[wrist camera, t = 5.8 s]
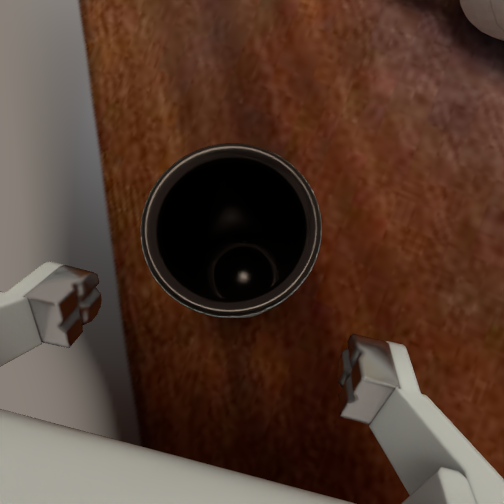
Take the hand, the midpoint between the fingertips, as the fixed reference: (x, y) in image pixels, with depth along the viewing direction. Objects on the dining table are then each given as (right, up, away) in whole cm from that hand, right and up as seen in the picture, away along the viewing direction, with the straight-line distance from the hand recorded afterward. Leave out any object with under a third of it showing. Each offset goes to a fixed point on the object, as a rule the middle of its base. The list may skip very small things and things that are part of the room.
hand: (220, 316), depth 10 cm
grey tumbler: (+1, +1, +8) cm, 8 cm away
